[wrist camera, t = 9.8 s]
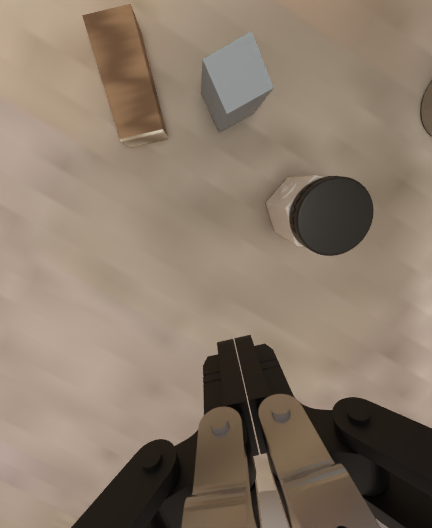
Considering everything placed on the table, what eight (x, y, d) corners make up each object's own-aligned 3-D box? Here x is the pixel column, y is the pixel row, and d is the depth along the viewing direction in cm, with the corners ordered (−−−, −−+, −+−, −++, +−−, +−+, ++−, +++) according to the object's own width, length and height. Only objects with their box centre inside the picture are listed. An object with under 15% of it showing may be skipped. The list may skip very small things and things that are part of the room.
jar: (297, 163, 37) (341, 154, 26) (336, 202, 39) (393, 209, 28) (253, 213, 39) (277, 225, 27) (293, 248, 41) (330, 273, 29)
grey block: (236, 73, 34) (251, 30, 24) (253, 113, 35) (273, 87, 26) (201, 93, 34) (202, 59, 25) (219, 132, 36) (226, 114, 26)
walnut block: (168, 138, 35) (140, 30, 32) (163, 131, 31) (130, 4, 27) (131, 147, 35) (99, 40, 32) (120, 141, 31) (82, 15, 27)
